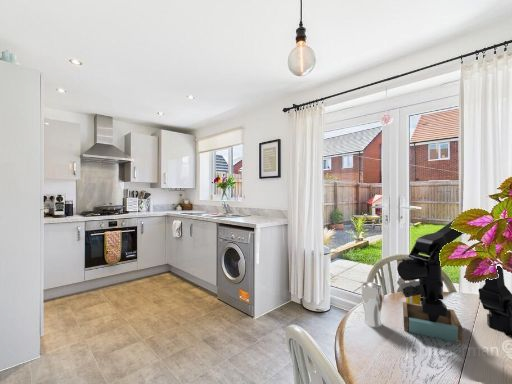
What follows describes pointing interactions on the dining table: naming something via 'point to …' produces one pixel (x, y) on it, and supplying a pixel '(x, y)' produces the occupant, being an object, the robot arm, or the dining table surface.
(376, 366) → the dining table surface
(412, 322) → the panel
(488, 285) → the robot arm
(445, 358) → the dining table surface
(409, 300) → the supplement bottle
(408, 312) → the crate
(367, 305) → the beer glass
